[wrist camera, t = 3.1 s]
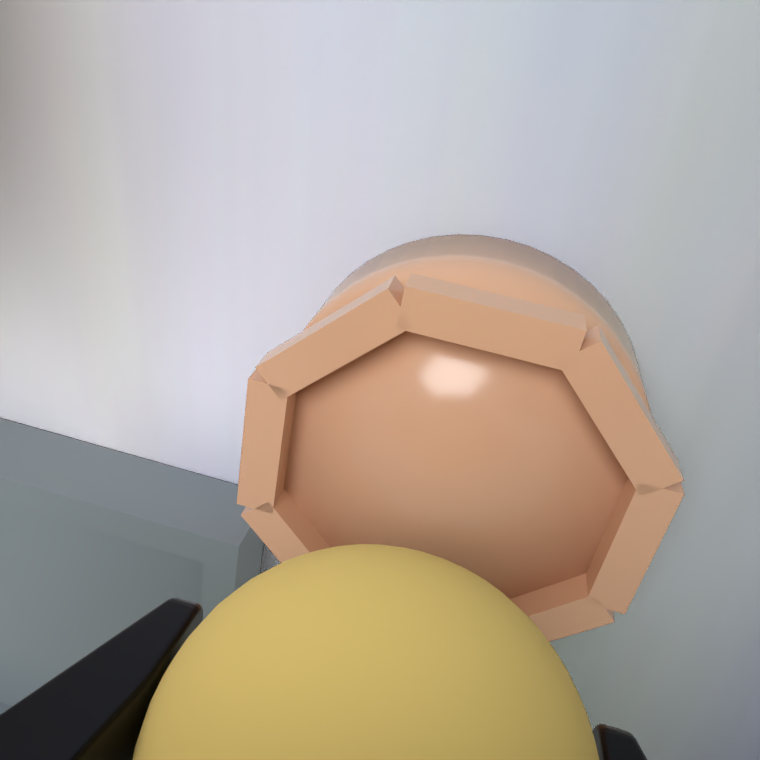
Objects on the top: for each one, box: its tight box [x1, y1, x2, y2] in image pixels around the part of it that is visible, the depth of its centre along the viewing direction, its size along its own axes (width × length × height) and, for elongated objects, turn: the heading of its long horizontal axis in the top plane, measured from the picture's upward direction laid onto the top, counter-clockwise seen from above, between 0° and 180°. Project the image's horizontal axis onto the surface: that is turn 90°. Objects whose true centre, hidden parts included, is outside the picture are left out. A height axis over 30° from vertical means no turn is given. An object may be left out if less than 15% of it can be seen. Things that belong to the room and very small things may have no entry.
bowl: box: [237, 234, 684, 642], centre depth 13 cm, size 7×7×4 cm
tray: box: [0, 418, 264, 714], centre depth 20 cm, size 12×12×2 cm
